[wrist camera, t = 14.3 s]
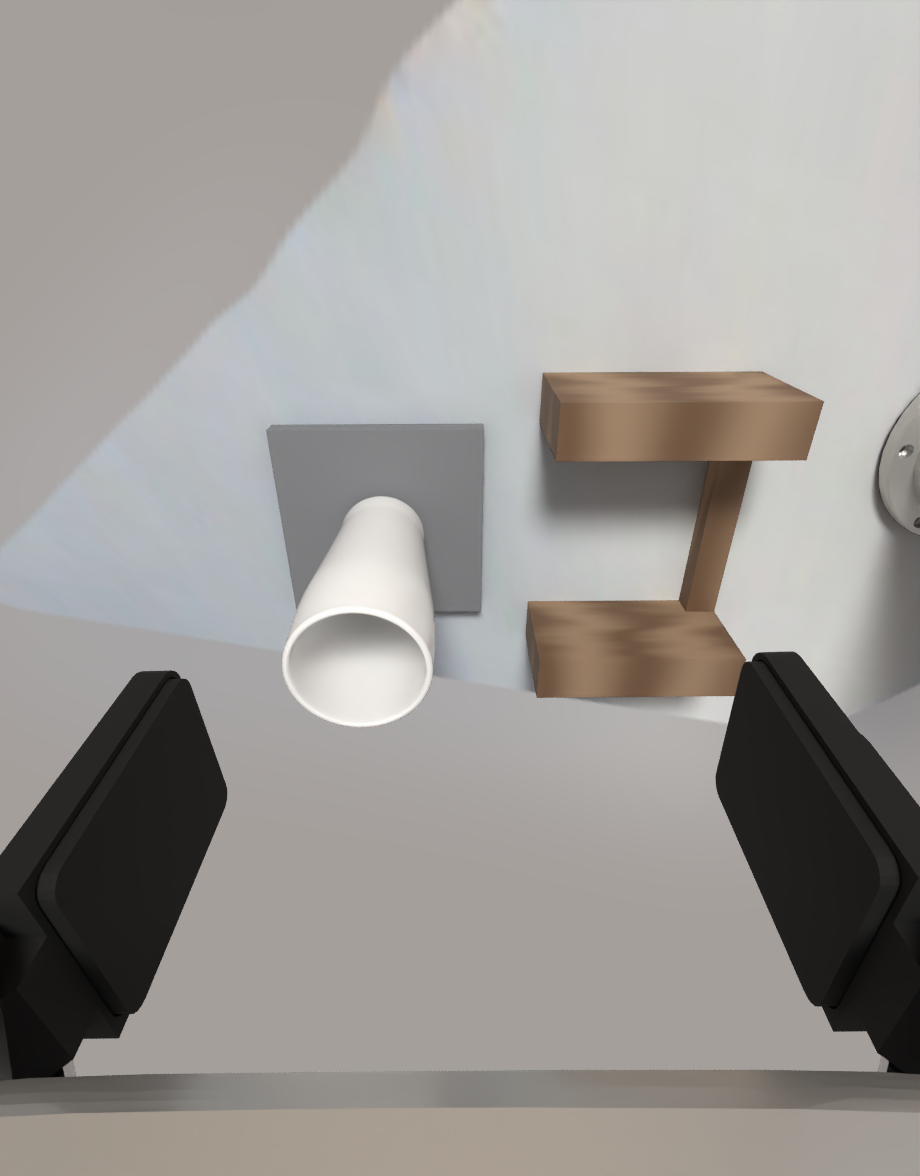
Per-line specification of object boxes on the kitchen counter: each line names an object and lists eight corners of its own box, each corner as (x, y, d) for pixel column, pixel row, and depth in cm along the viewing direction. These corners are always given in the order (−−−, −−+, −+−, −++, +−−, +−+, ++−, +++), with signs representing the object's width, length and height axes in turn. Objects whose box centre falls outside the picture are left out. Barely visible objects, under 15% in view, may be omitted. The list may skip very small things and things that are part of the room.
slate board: (483, 423, 37) (483, 429, 36) (480, 602, 44) (480, 611, 43) (271, 424, 37) (266, 430, 36) (300, 603, 44) (297, 612, 43)
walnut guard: (762, 371, 36) (823, 401, 30) (698, 633, 46) (734, 695, 40) (542, 372, 36) (560, 402, 30) (525, 635, 46) (536, 697, 40)
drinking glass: (418, 588, 42) (410, 744, 29) (321, 561, 41) (266, 711, 28) (449, 499, 39) (455, 630, 26) (345, 468, 37) (295, 588, 24)
